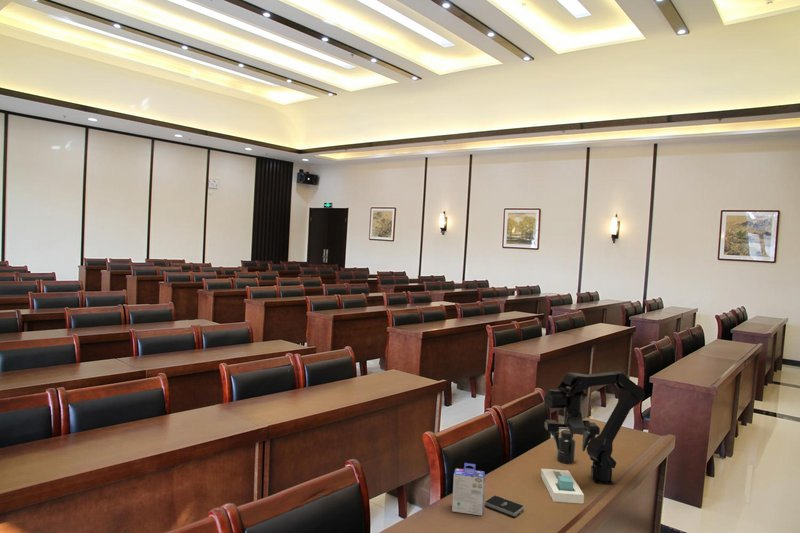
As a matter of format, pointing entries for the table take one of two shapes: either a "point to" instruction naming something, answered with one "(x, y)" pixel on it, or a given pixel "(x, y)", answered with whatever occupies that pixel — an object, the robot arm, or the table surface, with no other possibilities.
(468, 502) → the ink cartridge box
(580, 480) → the table surface
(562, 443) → the supplement bottle
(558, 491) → the socket plate
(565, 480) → the square peg
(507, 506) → the external hard drive
